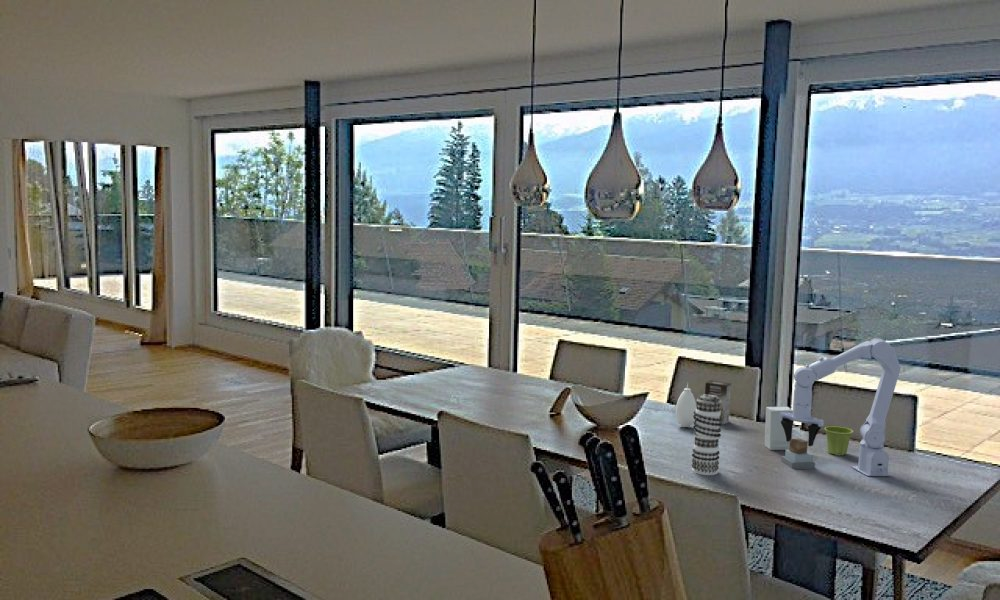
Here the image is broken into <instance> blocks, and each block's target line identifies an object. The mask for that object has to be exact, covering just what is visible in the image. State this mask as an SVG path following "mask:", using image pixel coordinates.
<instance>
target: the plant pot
mask: <svg viewBox="0 0 1000 600" xmlns="http://www.w3.org/2000/svg"><path fill="white" fill-rule="evenodd" d="M824 431H825V434H826V443H827V452H829V453H828V454H832V455H833V454H835V455H834V456H840V455H842V456H846V455H847V452H848V447H849V444H850V439H851V437H852V434H853V433H854V430H853V429H852V428H848V427H843V426H836V425H835V426H832V425H831V426H825V427H824ZM844 454H845V455H844Z"/></svg>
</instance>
